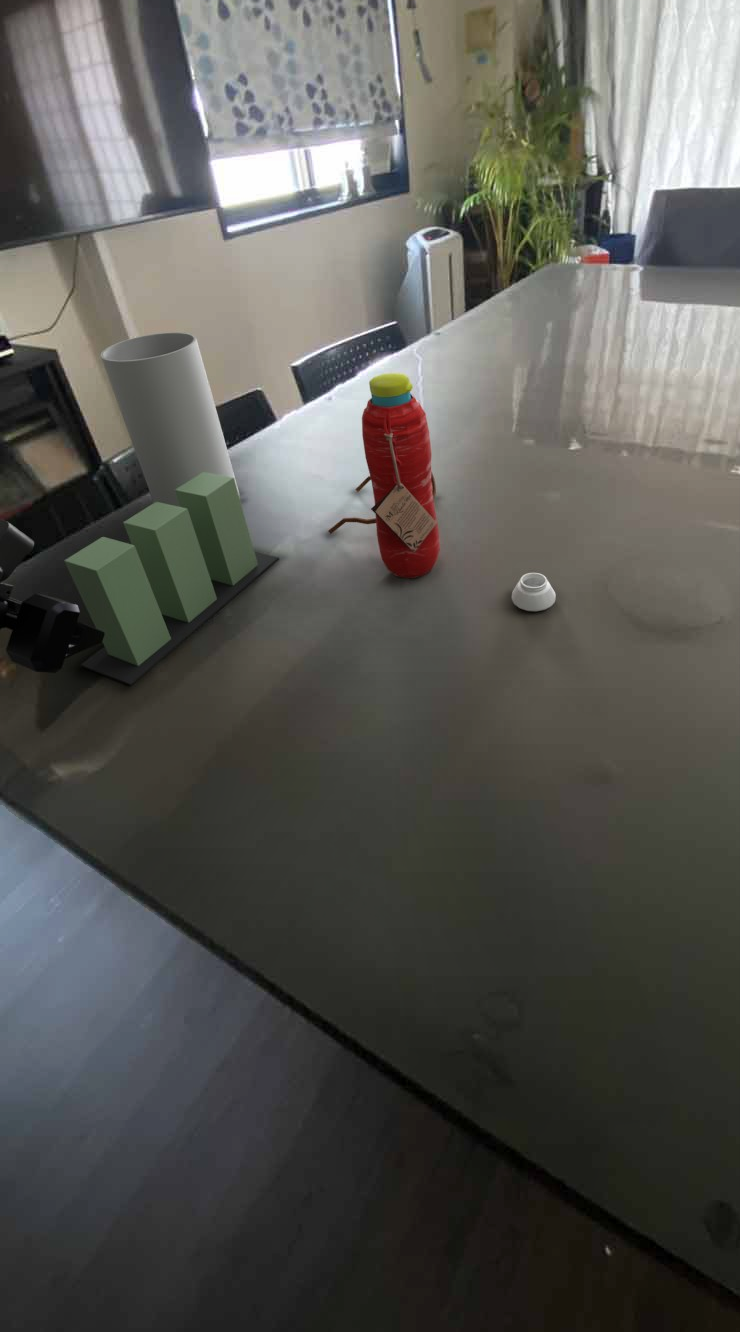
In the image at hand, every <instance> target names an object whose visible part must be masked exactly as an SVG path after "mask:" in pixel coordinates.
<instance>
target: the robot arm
mask: <svg viewBox="0 0 740 1332" xmlns="http://www.w3.org/2000/svg"><path fill="white" fill-rule="evenodd" d="M34 547H35V541H34V540H33V539H32V538H31V537H29V536H28V535H26V534H25V533H24V532H22V531H21V530H19V529H18V528H17V527H16V526H14V525H13V524H12V523H10V522H9V521H8V520H5V519H1V518H0V631H1V630H2V629H9V630H11V633H10V636H9V639H8V642H7V645H6V648H5V652H6V654H7V656H8V658H9V659H10V660H11V662H12V663H14V664H17V665H20V666H22V667H24V668H27V669H29V670H32V671H34V672H36V673H48V674H49V673H50V674H51V673H52V674H56V673H57V672H59V671H60V670H61V669H62V668H63V666H64V662H65V660H66V659H68V658H70V657H71V656H74V655H76V654H79V653H81V652H83V651H85V650H88V649H91V648H92V647H95V646H97V645H99V644H102V643H103V642H102V641H103V638H104V635H105V633H104V632H103V631H101V630H98V629H96V627H95V626H92V625H88V624H86V623H84V622H81V621H80V620H79V617H80V614H81V611H80V608H79V604H76V603H73V602H70V601H67V600H63V599H61V598H58V597H53V596H51V595H46V594H39V593H33V594H31V595H30V596H29V597H27V598H25V599H24V600H23V601H21V600H18V599H15V598H13V597H11V595H12V592H13V589H14V585H13V584H10V583H6V582H4V581H6V580H7V579H8V578H9V577H10V576H11V575H12V574H13V573H14V571H15V570H16V568H18V566H19V565H20V564H21V562H22V561H23V560H24V558H25V557H26V556H27V555H29V554H31V552H32V551H33V549H34Z"/></svg>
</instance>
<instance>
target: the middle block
mask: <svg viewBox="0 0 740 1332" xmlns="http://www.w3.org/2000/svg"><path fill="white" fill-rule="evenodd" d="M123 527H124V529H125V531H126V533H127V536H128V539H129V541H130V543H131V545H134V546H135V548H136V551H137V554H138V556H139V559H140V561H141V564H142V566H143V569H144V571H145V574H146V576H147V579H148V581H149V584H150V586H151V589H152V592H153V594H154V597H155V599H156V602H157V604H158V607H159V609H160V612H161V614H163V615H166V616H169V617H172V618H176V619H179V620H182V621H185V622H188V623H189V622H190V621H192V620H193V619H194V618H195V617H196V616H197V615H199V614H200V613H201V612H202V611H203V610H205V609H206V608H207V607H208V606H209V605H211V604H212V603H213V602H214V601H215V600H217V597H216V594H215V591H214V588H213V585H212V582H211V579H210V576H209V573H208V570H207V567H206V564H205V561H204V558H203V555H202V552H201V549H200V546H199V543H198V540H197V537H196V534H195V531H194V528H193V525H192V522H191V519H190V515H189V512H188V509H186V508H182V507H177V506H173V505H168V504H164V503H159V502H155V503H154V502H152V504H150V505H148V506H147V507H146V508H144V509H142V510H141V511H139V512H137V513H136V514H134V515H133V516H131V517H129V518H128V519H126V520H125V521H123Z"/></svg>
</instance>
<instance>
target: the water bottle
mask: <svg viewBox="0 0 740 1332" xmlns="http://www.w3.org/2000/svg"><path fill="white" fill-rule="evenodd" d="M368 384H369V391H370V394H371V395H370V396H371V398H369V399H368V400H367V404H366V407H364V409H363V412H362V415H361V432H362V434H361V435H362V443H363V450H364V456H365V461H366V465H367V469H368V474H369V476H370V477H371V480H370V482H371V487H372V493H373V498H374V499H373V500H374V505H373V506H372V507H371V508H370V510H371V512H373V513H374V514H375V518H376V523H375V525H376V526H375V527H376V537H377V538H376V539H377V544H378V549H379V553H380V557H381V561H382V562H383V564H384V565H385V566H386V569H387V571H389V572H390V573H392V574H393V575H394V576H396V577H397V578H405V579H413V578H418V577H422V576H424V575H426V574H428V573H429V572H432V569H434V566H435V565H436V562H437V560H438V557H439V554H440V551H441V547H440V531H439V526H438V520H437V515H436V514H437V513H436V508H435V502H434V500H433V495H432V482H431V471H432V447H431V435H430V429H429V425H428V420H427V414H426V412H425V410H424V409H423V407H422V405H421V404H420V403H421V402H420V401H419V400H417V399H416V397H415V395H414V394H413V393H411V392H412V390H413V388H414V386H413V383H411V380H410V378H409V376H408V375H407V374H404V373H401V372H389V373H381V374H379V375H376V376H373V377H372V378H371V379H370V380H369V382H368Z"/></svg>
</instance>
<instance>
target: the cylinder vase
mask: <svg viewBox="0 0 740 1332" xmlns="http://www.w3.org/2000/svg"><path fill="white" fill-rule="evenodd" d="M100 358H101V361H102V364H103V367H104V370H105V372H106V375H107V377H108V380H109V383H110V386H111V388H112V391H113V394H114V397H115V400H116V403H117V405H118V407H119V411H120V413H121V417H122V419H123V422H124V424H125V427H126V431H127V433H128V435H129V438H130V441H131V444H132V446H133V449H134V452H135V455H136V458H137V460H138V463H139V465H140V469H141V472H142V474H143V478H144V480H145V482H146V485H147V488H148V491H149V494H150V496H151V500H152V503H155V502H159V503H164V504H168V505H173V506H177V507H180V504H179V501H178V498H177V495H176V492H175V490H176V489H177V488H179V487H180V486H182V485H184V484H185V483H187V482H188V481H190V480H192V479H193V478H195V477H196V476H198V475H200V474H201V473H203V472H206V473H212V474H217V475H222V476H228V477H233V478H234V480H235V484H236V487H237V491H238V495H239V497H240V491H239V487H238V483H237V480H236V476H235V472H234V469H233V465H232V462H231V458H230V454H229V451H228V447H227V444H226V440H225V437H224V434H223V430H222V425H221V422H220V418H219V415H218V411H217V407H216V404H215V400H214V397H213V393H212V390H211V385H210V382H209V379H208V375H207V371H206V368H205V364H204V361H203V358H202V353H201V350H200V347H199V343H198V340H197V336H196V335H194V334H192V333H189V332H179V331H171V332H160V333H152V334H146V335H141V336H136V337H132V338H129V339H125V340H122V341H119V342H117V343H115V344H112V345H110V346H108V347H107V348H105V349H103V350H102V351H101V353H100Z"/></svg>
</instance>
